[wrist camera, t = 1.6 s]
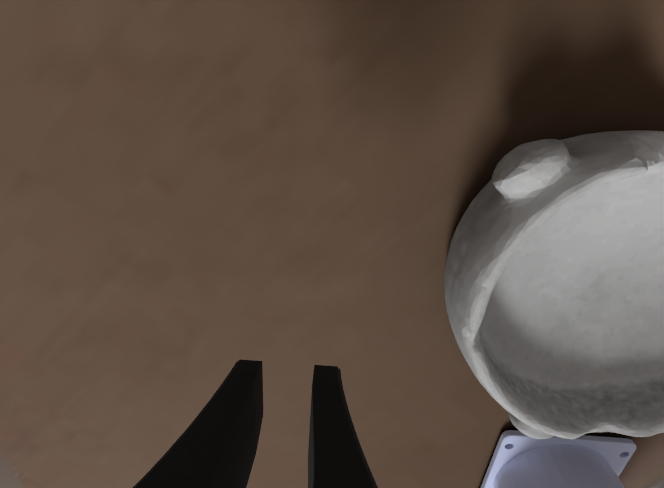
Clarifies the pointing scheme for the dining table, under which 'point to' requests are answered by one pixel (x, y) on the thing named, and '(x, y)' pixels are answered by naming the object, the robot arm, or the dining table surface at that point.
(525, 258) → the dish
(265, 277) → the dining table surface
